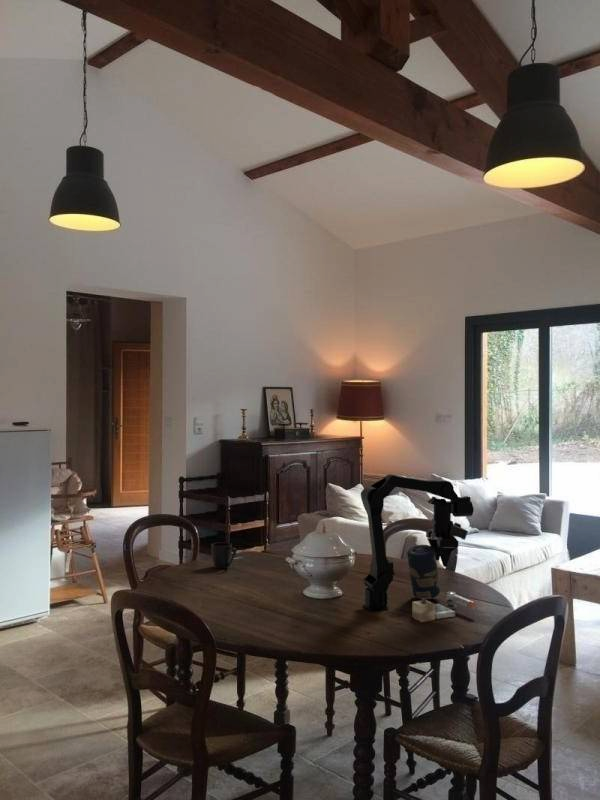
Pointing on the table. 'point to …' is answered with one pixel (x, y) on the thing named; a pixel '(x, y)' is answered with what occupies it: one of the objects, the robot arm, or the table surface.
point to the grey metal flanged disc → (451, 604)
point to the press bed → (443, 612)
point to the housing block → (423, 610)
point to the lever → (460, 600)
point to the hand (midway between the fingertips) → (441, 563)
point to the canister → (423, 571)
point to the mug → (222, 554)
